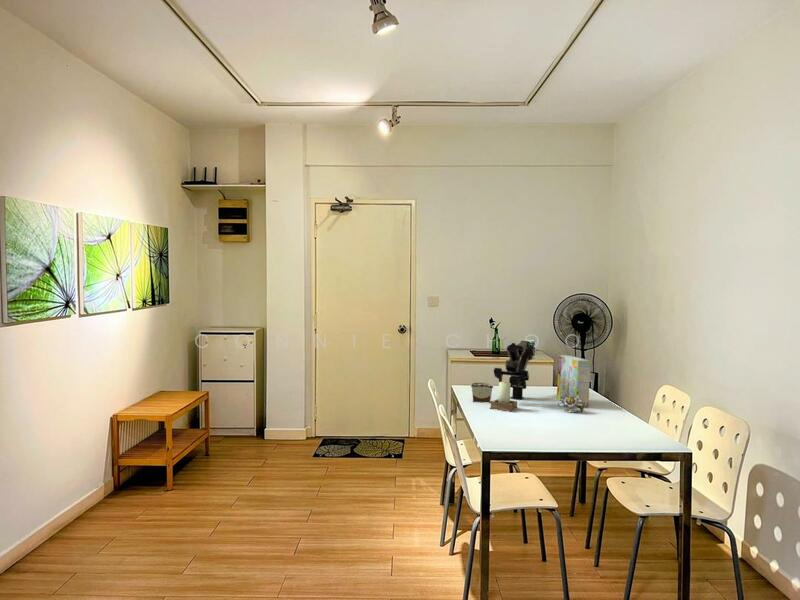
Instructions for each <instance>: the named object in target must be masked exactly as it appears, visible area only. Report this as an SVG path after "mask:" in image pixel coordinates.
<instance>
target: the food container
mask: <svg viewBox="0 0 800 600" xmlns="http://www.w3.org/2000/svg"><path fill="white" fill-rule="evenodd" d="M470 388H471V392H472V402H473V403H483V402H490V403H491V399H492V392H493V389H494V385H493V383H488V382H472V383H471V385H470Z"/></svg>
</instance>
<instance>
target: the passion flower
mask: <svg viewBox="0 0 800 600" xmlns="http://www.w3.org/2000/svg"><path fill="white" fill-rule="evenodd" d="M573 396H574V395H573ZM573 396H572V393H571V392H569V394H567V395H565V396H564V395H562V396H561V398H562V399H560V400H561V402H560V403H558V407H563V411H565V412H566V411H567V412H568V414H570V413H572V410H573V411H575V412H576V411H578V409H579V410H580V412H581V413H583V412H584V410H585V409H584V407H582V406H583V405H582V403H581V400H578V399H577V398H578V397H579V396H574V397H573ZM560 400H559V401H560ZM577 406H578V407H577Z"/></svg>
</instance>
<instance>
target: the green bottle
mask: <svg viewBox="0 0 800 600" xmlns="http://www.w3.org/2000/svg"><path fill="white" fill-rule="evenodd" d="M510 387H511V383H509V381H508V382H507V381H502V382H499V381H498V398H497V399H498V403H503V404H510V401H511V398H510V397H511V388H512V387H511V388H510Z"/></svg>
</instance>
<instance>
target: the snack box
mask: <svg viewBox="0 0 800 600" xmlns="http://www.w3.org/2000/svg"><path fill="white" fill-rule="evenodd" d="M591 365H592V360H591V359H590V360H589V359H585V358H581V357H578V356H574V355H573V356H572V355H558V368H557V386H556V387H557V388H556V400H558V401H561V400H560V399H562V398H561V396H562V395H564V396H565V395H567V394H569V392H571V393H572V396H573V395H574V396H579V397H578V398H577V399H578V400H581V403H582V405H583V406H582V407H583V408H587V407H589V399H590V398H589V397H590V385H591V384H590V383H591V382H590V380H591V367H592V366H591ZM574 396H573V397H574ZM561 402H562V401H561ZM577 408H579V407H578V406H577Z"/></svg>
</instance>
